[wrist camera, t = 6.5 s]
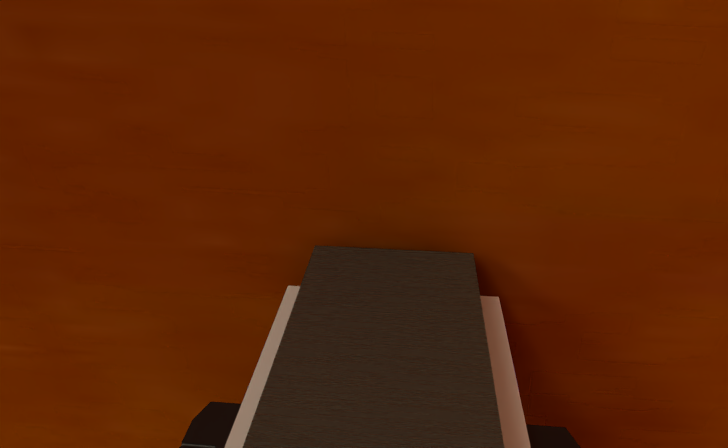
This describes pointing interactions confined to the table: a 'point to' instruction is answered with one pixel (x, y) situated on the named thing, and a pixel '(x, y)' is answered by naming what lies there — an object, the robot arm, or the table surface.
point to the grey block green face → (382, 356)
